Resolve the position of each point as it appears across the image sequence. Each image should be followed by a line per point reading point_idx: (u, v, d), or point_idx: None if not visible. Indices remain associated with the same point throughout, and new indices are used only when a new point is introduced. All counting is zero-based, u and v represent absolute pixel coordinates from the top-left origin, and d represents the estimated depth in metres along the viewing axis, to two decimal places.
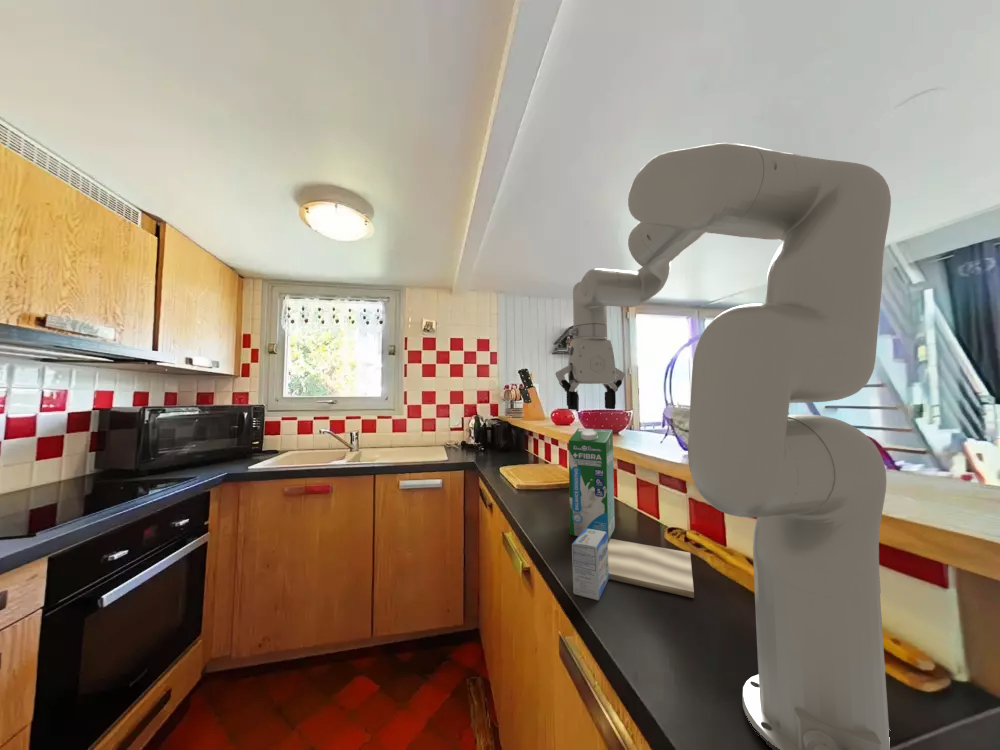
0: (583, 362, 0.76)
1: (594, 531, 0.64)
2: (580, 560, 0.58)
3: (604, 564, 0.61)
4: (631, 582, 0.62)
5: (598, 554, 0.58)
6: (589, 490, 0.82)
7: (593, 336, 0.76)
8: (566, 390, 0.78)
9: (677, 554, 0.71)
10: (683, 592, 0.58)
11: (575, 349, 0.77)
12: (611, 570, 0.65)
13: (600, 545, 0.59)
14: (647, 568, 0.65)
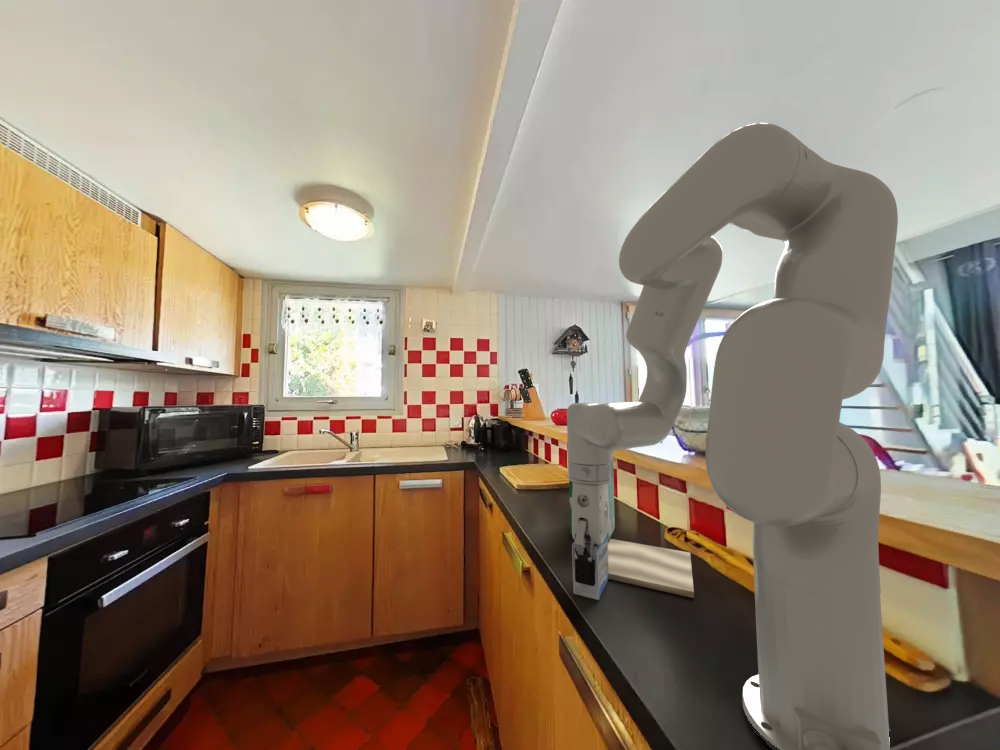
0: (601, 518, 0.58)
1: None
2: None
3: (604, 564, 0.61)
4: (631, 582, 0.62)
5: (598, 554, 0.58)
6: None
7: (608, 480, 0.60)
8: (581, 559, 0.57)
9: (677, 554, 0.71)
10: (683, 592, 0.58)
11: (593, 500, 0.57)
12: (611, 570, 0.65)
13: (600, 545, 0.59)
14: (647, 568, 0.65)
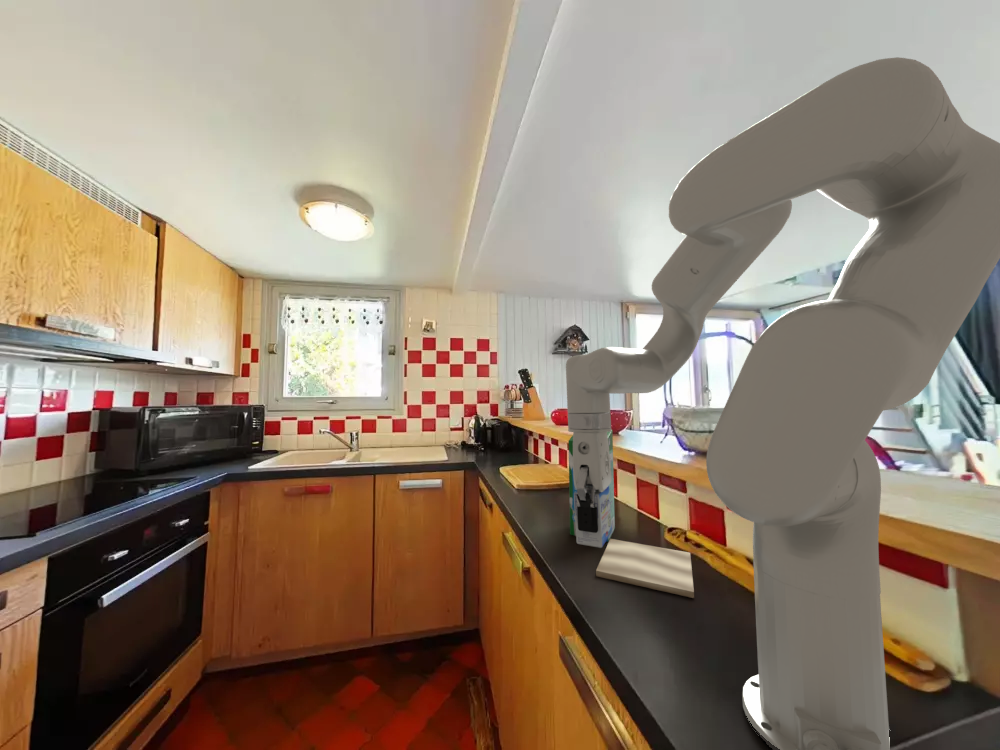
0: (602, 465, 0.58)
1: None
2: None
3: (607, 515, 0.61)
4: (631, 582, 0.62)
5: (600, 501, 0.58)
6: None
7: (608, 429, 0.60)
8: (583, 506, 0.57)
9: (677, 554, 0.71)
10: (683, 592, 0.58)
11: (593, 447, 0.57)
12: (611, 570, 0.65)
13: (602, 494, 0.59)
14: (647, 568, 0.65)
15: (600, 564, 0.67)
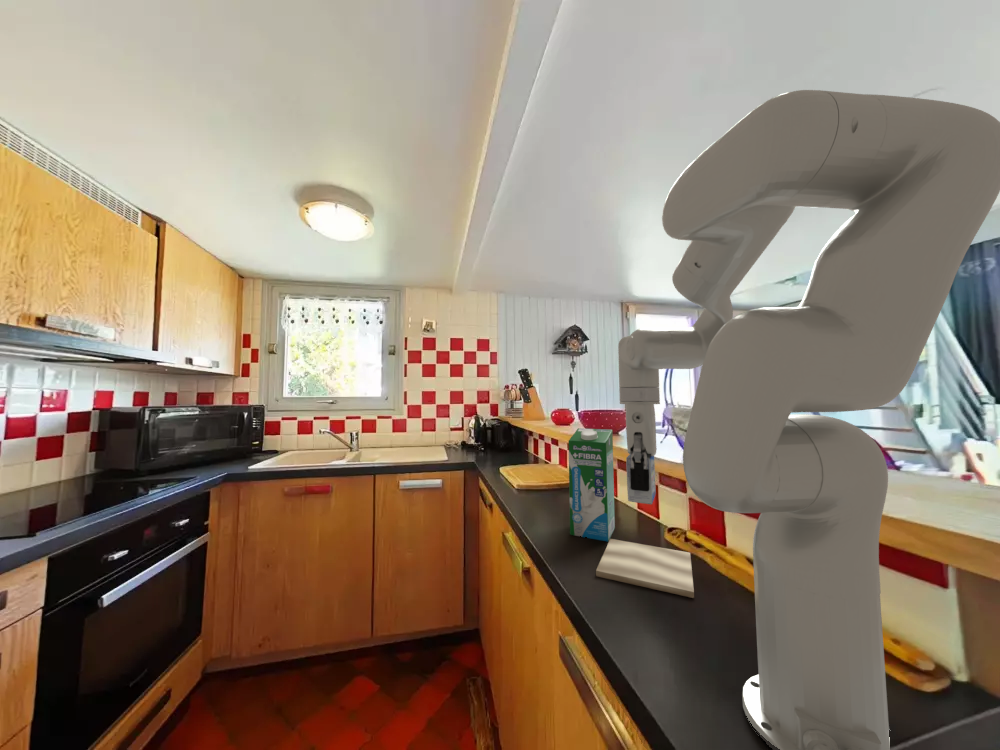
0: (654, 433, 0.65)
1: None
2: None
3: (653, 477, 0.69)
4: (631, 582, 0.62)
5: (651, 464, 0.65)
6: (589, 490, 0.82)
7: (658, 401, 0.67)
8: (637, 468, 0.64)
9: (677, 554, 0.71)
10: (683, 592, 0.58)
11: (647, 416, 0.65)
12: (611, 570, 0.65)
13: (651, 458, 0.67)
14: (647, 568, 0.65)
15: (600, 564, 0.67)
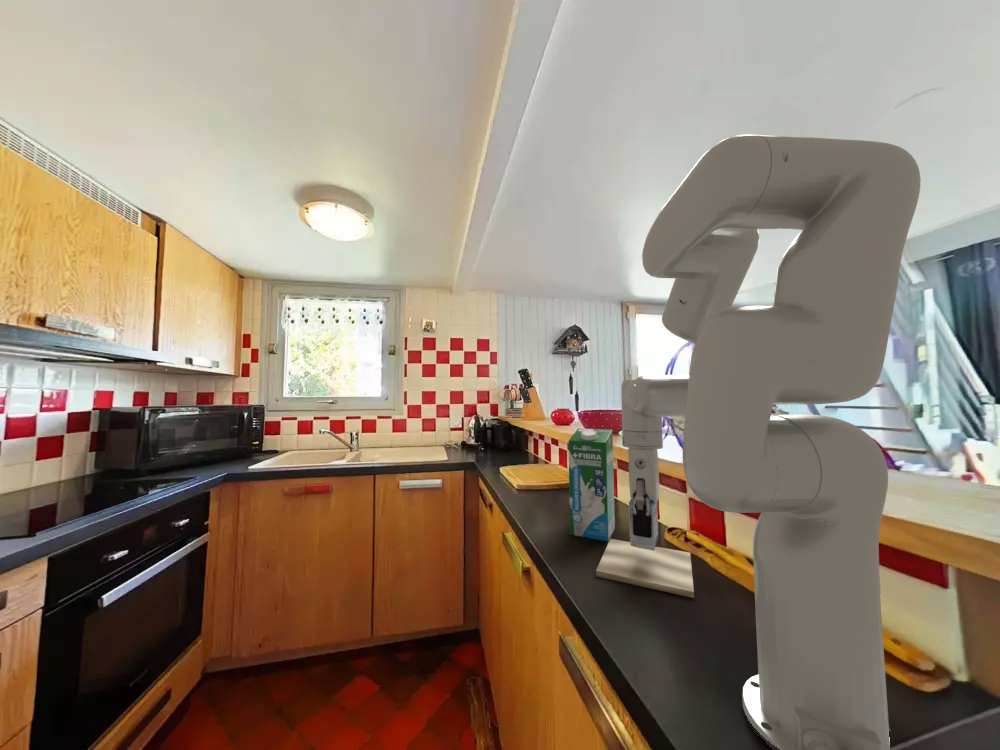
0: (656, 478, 0.65)
1: None
2: None
3: (656, 521, 0.68)
4: (631, 582, 0.62)
5: (653, 510, 0.65)
6: (589, 490, 0.82)
7: (661, 446, 0.67)
8: (639, 514, 0.64)
9: (677, 554, 0.71)
10: (683, 592, 0.58)
11: (649, 463, 0.65)
12: (611, 570, 0.65)
13: (654, 503, 0.67)
14: (647, 568, 0.65)
15: (600, 564, 0.67)
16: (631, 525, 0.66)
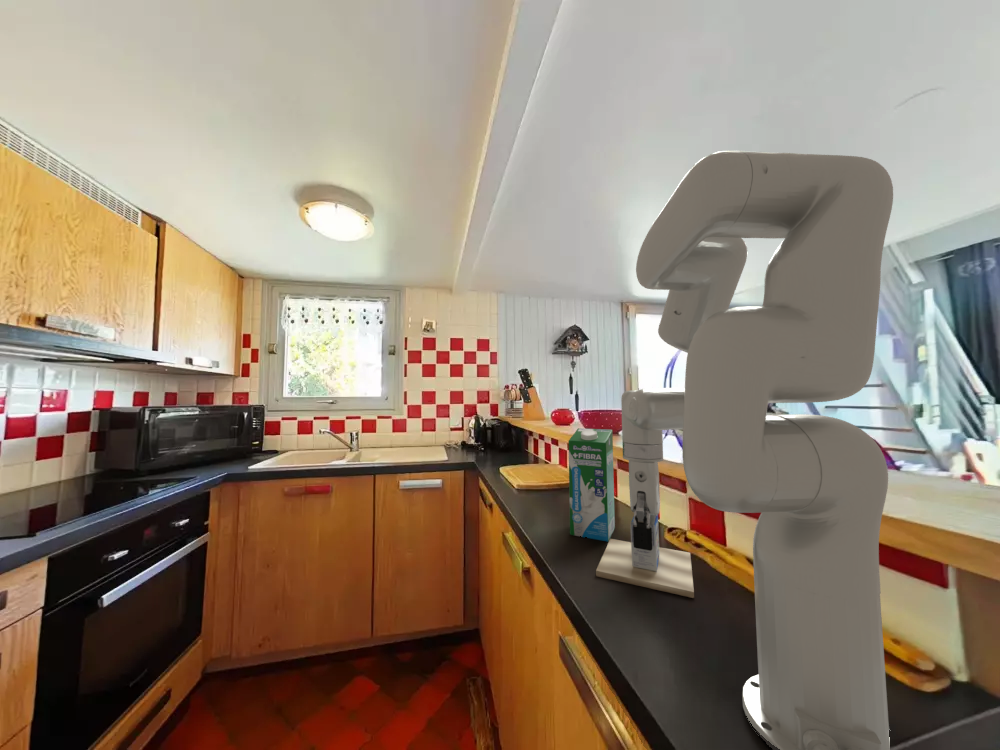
0: (657, 491, 0.65)
1: None
2: None
3: (657, 540, 0.68)
4: (631, 582, 0.62)
5: (655, 530, 0.65)
6: (589, 490, 0.82)
7: (661, 458, 0.67)
8: (639, 526, 0.64)
9: (677, 554, 0.71)
10: (683, 592, 0.58)
11: (650, 476, 0.64)
12: (611, 570, 0.65)
13: (655, 523, 0.66)
14: None
15: (600, 564, 0.67)
16: (633, 545, 0.66)
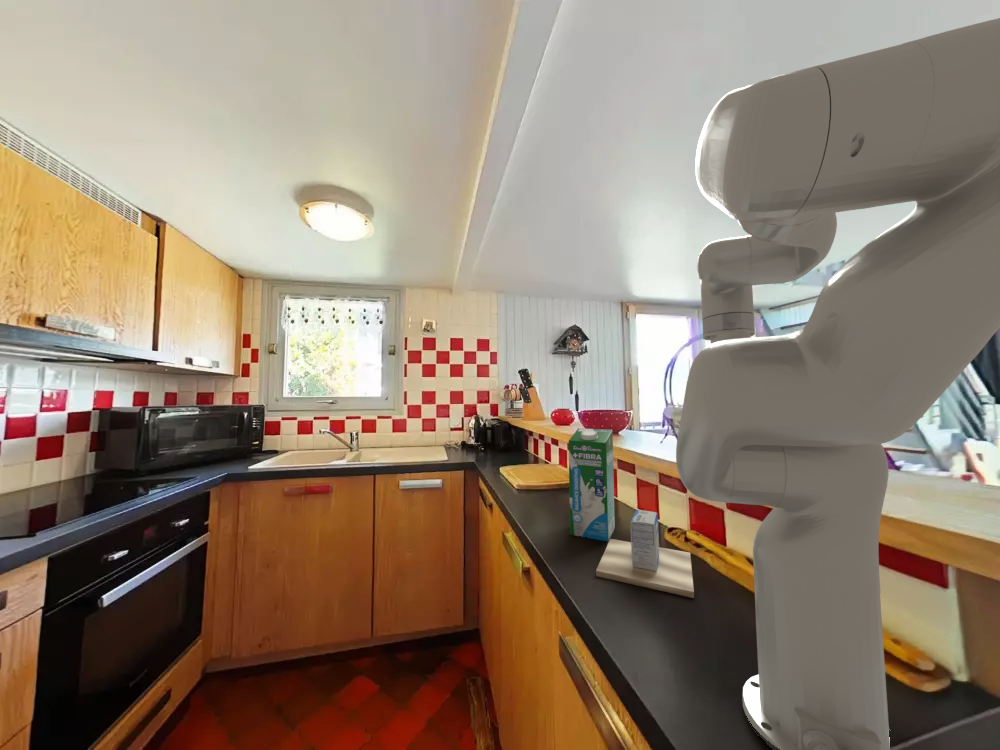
0: None
1: (646, 512, 0.71)
2: (638, 536, 0.66)
3: (657, 540, 0.68)
4: (631, 582, 0.62)
5: (655, 530, 0.65)
6: (589, 490, 0.82)
7: (754, 330, 0.57)
8: None
9: (677, 554, 0.71)
10: (683, 592, 0.58)
11: None
12: (611, 570, 0.65)
13: (655, 523, 0.66)
14: None
15: (600, 564, 0.67)
16: (633, 545, 0.66)
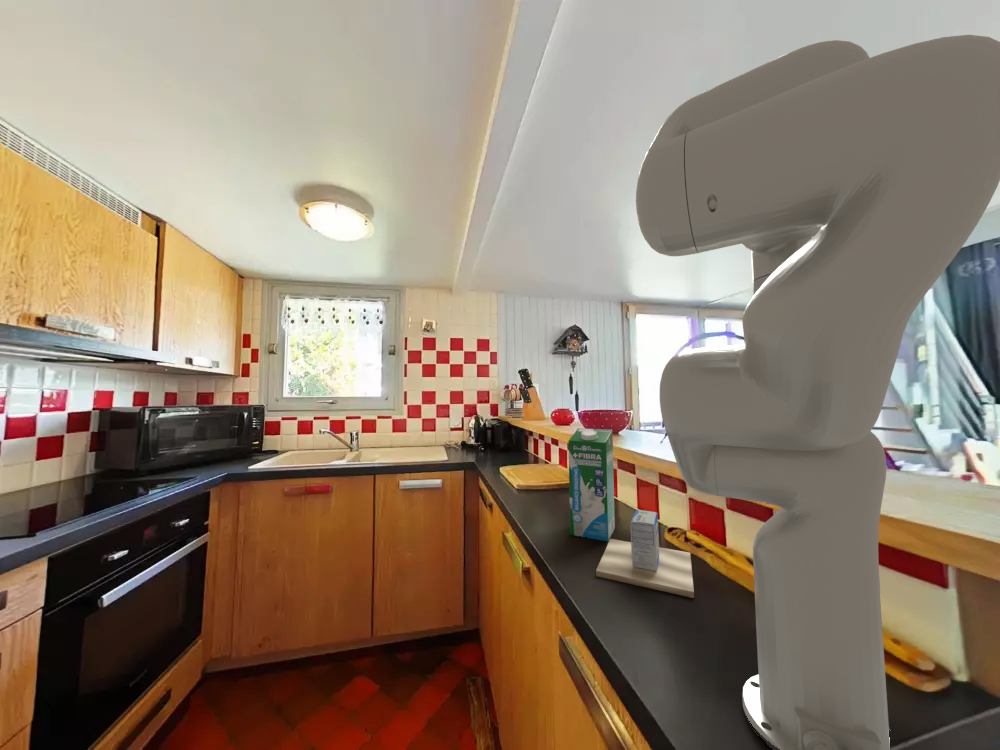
0: None
1: (646, 512, 0.71)
2: (638, 536, 0.66)
3: (657, 540, 0.68)
4: (631, 582, 0.62)
5: (655, 530, 0.65)
6: (589, 490, 0.82)
7: None
8: None
9: (677, 554, 0.71)
10: (683, 592, 0.58)
11: None
12: (611, 570, 0.65)
13: (655, 523, 0.66)
14: None
15: (600, 564, 0.67)
16: (633, 545, 0.66)
